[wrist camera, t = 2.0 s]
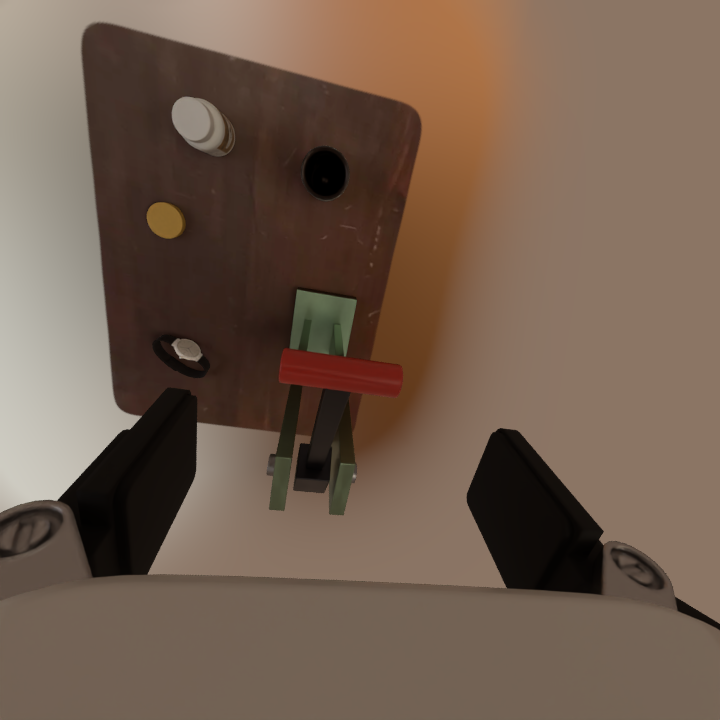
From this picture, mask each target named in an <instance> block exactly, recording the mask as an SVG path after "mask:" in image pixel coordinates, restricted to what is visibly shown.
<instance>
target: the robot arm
mask: <svg viewBox="0 0 720 720" xmlns="http://www.w3.org/2000/svg"><path fill="white" fill-rule="evenodd" d="M196 444H197V397H196V396H193V395H191V392H190V390H184V389H176V388H167V389H166V390H165V391H164V392H163V393H162V394H161V396H160V397H159V398H158V399H157V400H156V401H155V402H154V403H153V405H152V406H151V407H150V408H149V409H148V410H147V411H146V412H145V414H144V415H143V416H142V417H141V418H140V419H139V420H138V422H137V423H136V424H135V425H134V426H133V427H132V428H131V429H130V430H128V429H127V430H123V431H122V432H120V433H119V434H118V435H117V436H116V437H115V439H114V440H113V441H112V442H111V443H110V444H109V445H108V446H107V447H106V448H105V449H104V450H103V452H102V453H101V454H100V455H99V456H98V457H97V458H96V459H95V460H94V461H93V462H92V463H91V465H90V466H89V467H88V468H87V469H86V470H85V471H84V472H83V473H82V474H81V476H79V478H78V479H77V480H76V481H75V482H74V483H73V484H72V485H71V486H70V487H69V488H68V489H67V491H66V492H65V493H64V494H63V495H62V496H61V497H60V498H59V499H58V501H53V500H43V501H42V500H41V501H33V502H29V503H25V504H20V505H17V506H15V507H13V508H10V509H8V510H5V511H3V512H1V513H0V720H720V624H719V623H717V622H715V621H714V620H713V619H711V618H709V617H708V616H706V615H704V614H702V613H701V612H699V611H698V610H696V609H694V608H693V607H691V606H689V605H688V604H686V603H685V602H683V601H681V600H680V599H678V598H676V597H675V595H674V591H673V586H672V584H671V581H670V579H669V578H668V576H667V575H666V573H665V572H664V571H663V570H662V569H661V568H660V567H659V566H658V564H656V563H655V562H654V561H653V560H652V559H651V558H649V557H648V556H647V555H645V554H644V553H642V552H641V551H639V550H637V549H636V548H634V547H632V546H630V545H627V544H625V543H621V542H617V541H609V542H607V543H606V544H604V545H603V544H602V543H601V542H600V541H599V538H600V537H601V535H602V534H603V532H604V531H603V530H602V529H601V528H600V527H599V525H598V524H597V523H596V522H595V521H594V520H593V518H592V517H591V516H590V515H589V514H588V513H587V511H586V510H585V509H584V508H583V507H582V505H581V504H580V503H579V502H578V501H577V500H576V498H575V497H574V496H573V495H572V494H571V492H570V491H569V490H568V489H567V488H566V487H565V486H564V484H563V483H562V482H561V481H560V479H558V477H557V476H556V475H555V474H554V472H553V471H552V470H551V469H550V468H549V466H548V465H547V464H546V463H545V462H544V461H543V459H542V458H541V457H540V456H539V455H538V454H537V452H536V451H535V450H534V449H533V448H532V446H531V445H530V444H529V443H528V442H527V441H526V439H525V438H524V437H523V436H522V435H521V434H520V432H518V431H517V430H510V429H502V428H500V429H498V430H497V431H496V432H493V433H492V434H491V436H490V438H489V441H488V443H487V446H486V448H485V451H484V453H483V455H482V458H481V460H480V463H479V465H478V468H477V470H476V473H475V475H474V478H473V480H472V483H471V485H470V488H469V490H468V493H467V503H468V506H469V508H470V511H471V512H472V515H473V517H474V519H475V521H476V523H477V525H478V528H479V530H480V532H481V534H482V536H483V538H484V540H485V543H486V544H487V547H488V549H489V551H490V553H491V555H492V557H493V560H494V562H495V564H496V566H497V568H498V570H499V572H500V574H501V577H502V579H503V581H504V583H505V585H506V587H507V588H489V587H470V586H451V585H430V584H408V583H387V582H365V581H343V580H342V581H341V580H319V579H318V580H317V579H294V578H269V577H244V576H208V575H207V576H206V575H165V574H163V575H161V574H160V575H147V574H148V572H149V570H150V568H151V565H152V564H153V562H154V560H155V557H156V555H157V553H158V551H159V549H160V547H161V545H162V543H163V541H164V539H165V537H166V535H167V533H168V531H169V529H170V527H171V525H172V523H173V521H174V519H175V517H176V515H177V513H178V511H179V509H180V507H181V505H182V503H183V501H184V499H185V497H186V495H187V492H188V490H189V488H190V486H191V484H192V482H193V480H194V477H195V472H196V446H197V445H196Z"/></svg>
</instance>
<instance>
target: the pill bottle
mask: <svg viewBox="0 0 720 720" xmlns="http://www.w3.org/2000/svg"><path fill="white" fill-rule="evenodd" d="M172 120H173V123H174V126H175V128H176V129H177V131H178V132H179V133H180V134H181V135H182V136H183V138H184V139H185V140H186V141H187V142H188V143H189V144H190V145H191V146H192V147H194V148H196V149H198V150H200V151H203V152H205V153H207V154H210V155H212V156H218V157H219V156H224V155H226V154H228V153H229V152H230V151H231V150H232V148H233V146H234V144H235V132H234V128H233V126H232V124H231V122H230V121H229V120H228V118H227V117H226V116H225V115H224V114H222V113H221V112H220V111H219V110H218V109H217V108H216V107H215V106H213V105H212V104H211V103H209V102H208V101H206V100H204V99H200V98H192V97H182V98H180V99H179V100H177V101H176V102H175V104H174V106H173V108H172Z"/></svg>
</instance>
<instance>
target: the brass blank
mask: <svg viewBox="0 0 720 720" xmlns="http://www.w3.org/2000/svg"><path fill="white" fill-rule="evenodd" d="M147 221H148V224H149V226H150V228H151V229H152V231H153V232H154V233H155V234H157V235H158V236H160V237H163V238H168V239H169V238H175V237H178V236H180V235H181V234H182V233H183V231H184V229H185V218H184V215H183V213H182V212H181V211H180V209H179V208H177V207H176V206H175V205H173V204H171V203H167V202H158V203H155V204H153V205H152V206H151V207H150V208H149V210H148V212H147Z"/></svg>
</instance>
